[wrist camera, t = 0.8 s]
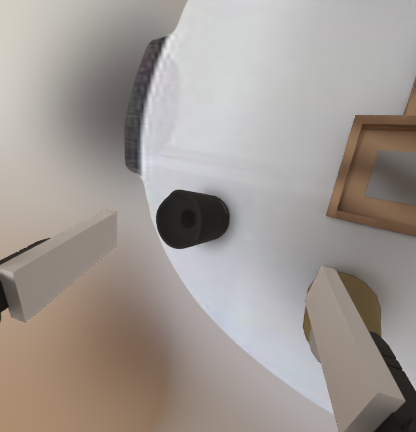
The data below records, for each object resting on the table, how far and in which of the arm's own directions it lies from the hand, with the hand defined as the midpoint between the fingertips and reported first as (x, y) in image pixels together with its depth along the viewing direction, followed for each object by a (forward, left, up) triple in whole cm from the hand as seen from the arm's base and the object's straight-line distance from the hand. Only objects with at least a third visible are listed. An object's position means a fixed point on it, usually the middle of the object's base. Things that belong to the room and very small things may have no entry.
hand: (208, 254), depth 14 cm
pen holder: (+2, -15, -25) cm, 29 cm away
